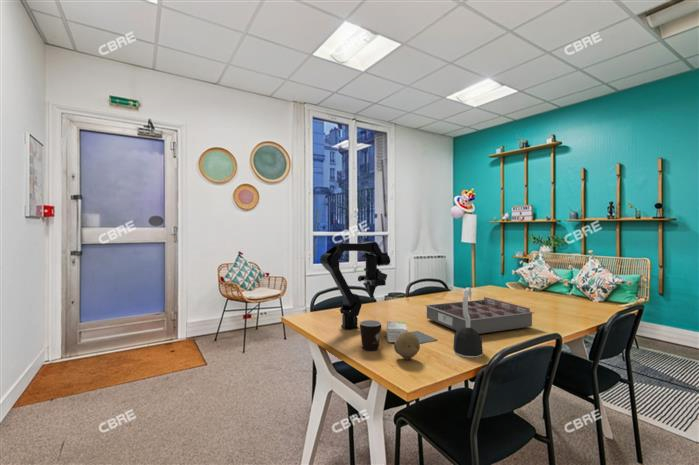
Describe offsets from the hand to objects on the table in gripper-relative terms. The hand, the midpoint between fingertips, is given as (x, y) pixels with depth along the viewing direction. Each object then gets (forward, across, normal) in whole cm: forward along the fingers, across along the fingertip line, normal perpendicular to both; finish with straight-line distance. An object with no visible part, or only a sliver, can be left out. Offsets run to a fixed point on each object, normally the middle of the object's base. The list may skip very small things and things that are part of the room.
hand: (371, 297), depth 168 cm
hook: (+13, -51, -14) cm, 54 cm away
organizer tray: (+14, -24, -47) cm, 54 cm away
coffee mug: (+13, -31, +16) cm, 37 cm away
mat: (+13, -28, -4) cm, 31 cm away
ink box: (+10, -18, -3) cm, 21 cm away
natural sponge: (+13, -47, +11) cm, 50 cm away
